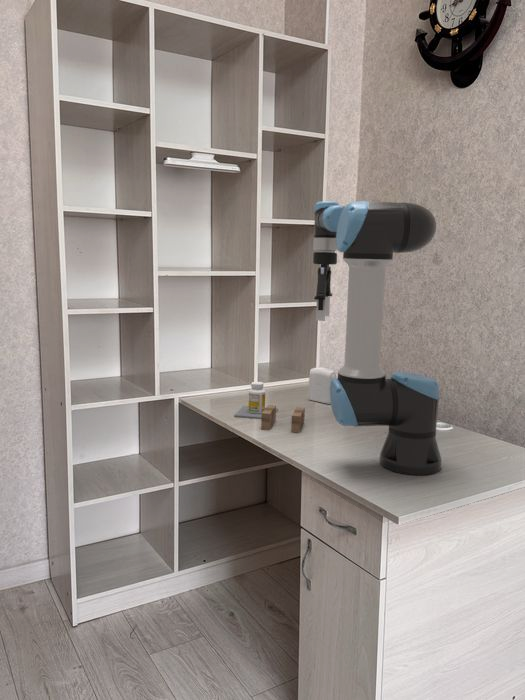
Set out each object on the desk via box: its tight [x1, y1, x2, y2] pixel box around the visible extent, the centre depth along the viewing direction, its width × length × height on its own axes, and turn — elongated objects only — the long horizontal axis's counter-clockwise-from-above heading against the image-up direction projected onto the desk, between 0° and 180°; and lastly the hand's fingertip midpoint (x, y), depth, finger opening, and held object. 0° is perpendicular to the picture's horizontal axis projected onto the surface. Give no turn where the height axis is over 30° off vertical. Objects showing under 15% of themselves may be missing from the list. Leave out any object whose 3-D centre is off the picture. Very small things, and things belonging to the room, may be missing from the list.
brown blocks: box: [260, 404, 306, 434], centre depth 182 cm, size 10×12×5 cm
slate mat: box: [233, 405, 279, 420], centre depth 196 cm, size 12×12×1 cm
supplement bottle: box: [248, 381, 266, 414], centre depth 195 cm, size 5×5×10 cm
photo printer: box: [308, 366, 337, 405], centre depth 212 cm, size 10×4×12 cm, turn 47°
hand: (322, 318), depth 192 cm, fingers open, 13 cm apart
